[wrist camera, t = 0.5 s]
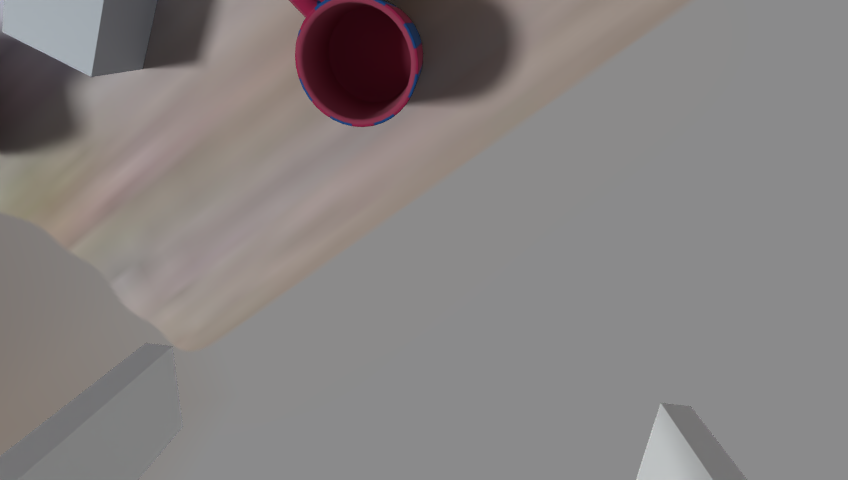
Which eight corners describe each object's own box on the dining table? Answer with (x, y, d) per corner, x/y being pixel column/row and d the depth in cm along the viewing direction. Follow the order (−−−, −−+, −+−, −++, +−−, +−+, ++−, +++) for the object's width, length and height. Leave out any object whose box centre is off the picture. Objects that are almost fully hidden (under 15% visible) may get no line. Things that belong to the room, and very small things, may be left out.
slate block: (80, -47, 27) (8, -61, 22) (158, -3, 28) (105, -8, 23) (69, 30, 29) (1, 31, 24) (143, 68, 30) (91, 76, 25)
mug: (367, 124, 31) (349, 149, 25) (270, -3, 27) (222, -11, 21) (442, 68, 29) (442, 80, 23) (349, -78, 25) (320, -109, 19)
